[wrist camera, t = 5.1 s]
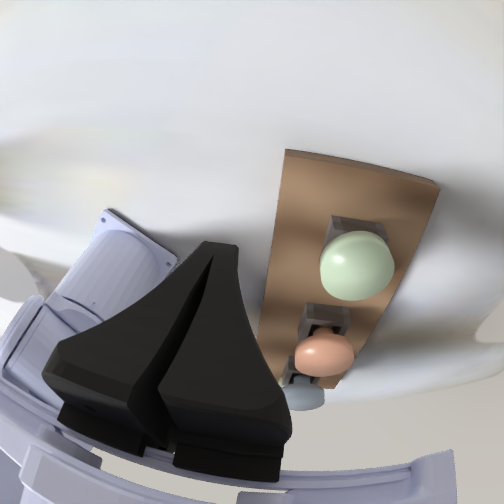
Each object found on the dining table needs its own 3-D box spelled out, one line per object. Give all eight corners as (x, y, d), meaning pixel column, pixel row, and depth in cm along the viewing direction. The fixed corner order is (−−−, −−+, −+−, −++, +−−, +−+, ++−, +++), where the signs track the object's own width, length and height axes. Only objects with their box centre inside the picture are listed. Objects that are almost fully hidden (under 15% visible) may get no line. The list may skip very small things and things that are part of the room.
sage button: (371, 275, 21) (378, 303, 18) (311, 267, 21) (313, 296, 19) (392, 222, 18) (405, 248, 15) (326, 210, 18) (331, 236, 16)
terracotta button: (340, 350, 25) (342, 378, 22) (290, 346, 25) (289, 374, 23) (358, 318, 22) (362, 348, 20) (301, 312, 22) (301, 343, 20)
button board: (333, 379, 34) (334, 400, 32) (251, 371, 35) (248, 393, 32) (431, 180, 17) (451, 201, 15) (285, 148, 18) (284, 165, 15)
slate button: (317, 389, 30) (317, 411, 28) (276, 385, 30) (275, 408, 28) (329, 369, 27) (330, 394, 25) (284, 366, 27) (282, 391, 25)
